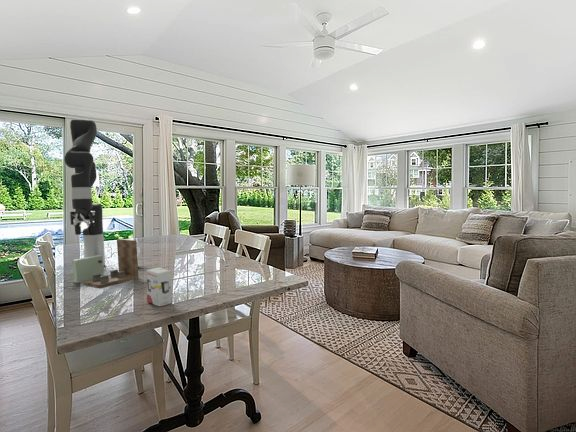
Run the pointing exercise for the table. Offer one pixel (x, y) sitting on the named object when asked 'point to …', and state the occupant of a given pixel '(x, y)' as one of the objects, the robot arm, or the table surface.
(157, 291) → the ink box
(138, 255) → the lightbulb
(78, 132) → the robot arm
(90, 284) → the wooden l-shaped stand
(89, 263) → the door
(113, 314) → the table surface
